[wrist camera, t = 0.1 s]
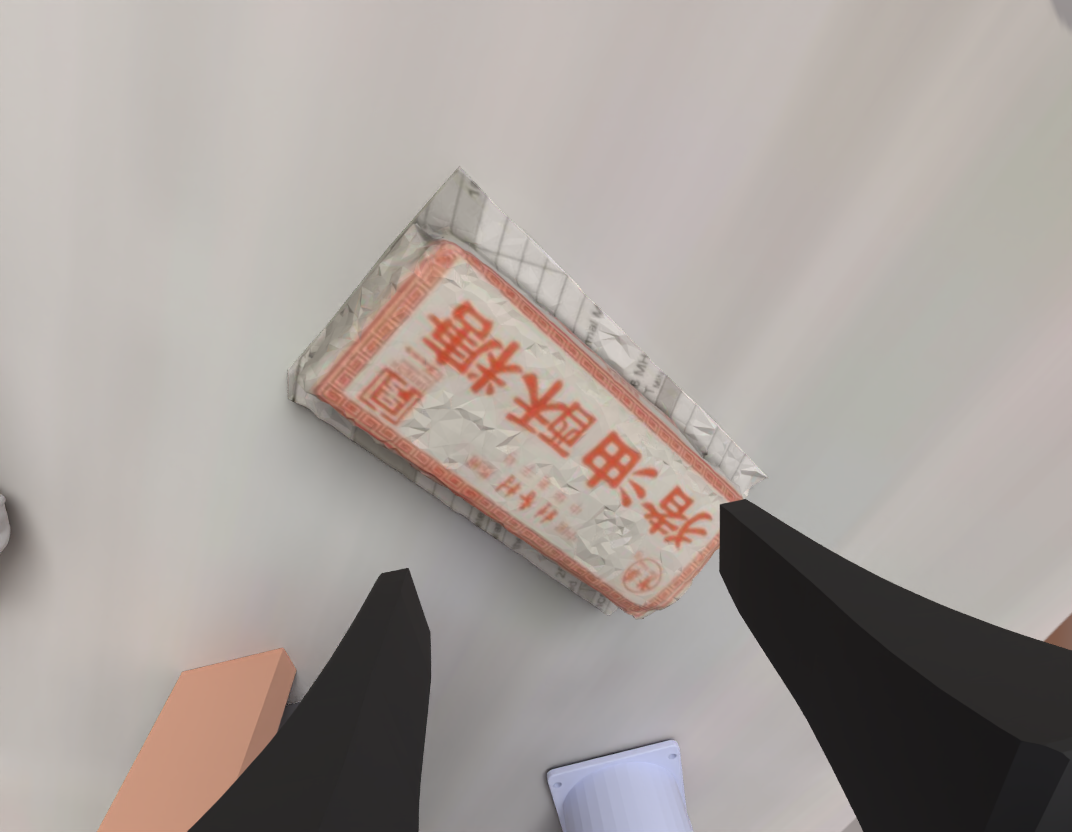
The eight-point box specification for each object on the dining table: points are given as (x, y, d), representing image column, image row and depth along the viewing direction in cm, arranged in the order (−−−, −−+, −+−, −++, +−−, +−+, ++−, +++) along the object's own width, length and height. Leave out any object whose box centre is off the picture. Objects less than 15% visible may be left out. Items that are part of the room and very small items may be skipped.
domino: (296, 670, 26) (235, 863, 19) (198, 693, 26) (100, 896, 19) (283, 647, 26) (215, 839, 18) (182, 671, 25) (74, 874, 18)
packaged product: (235, 433, 16) (457, 166, 14) (283, 373, 20) (457, 163, 18) (628, 678, 23) (820, 528, 21) (601, 594, 27) (757, 463, 25)
